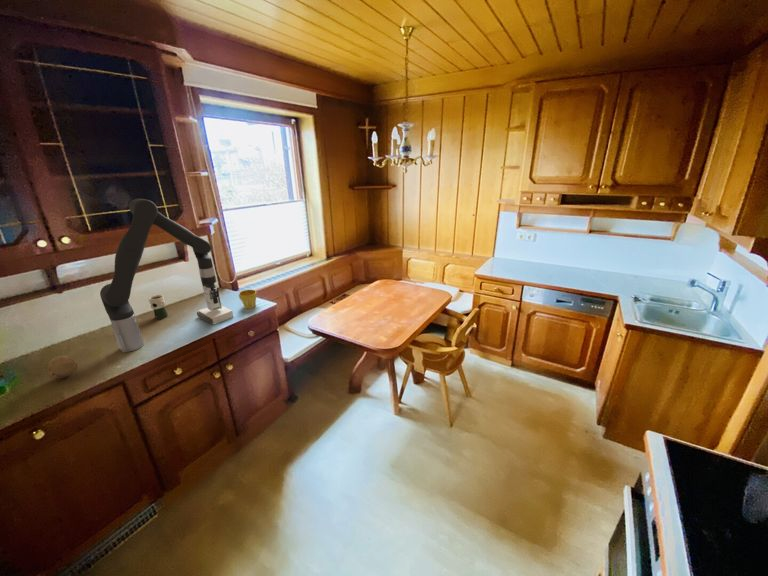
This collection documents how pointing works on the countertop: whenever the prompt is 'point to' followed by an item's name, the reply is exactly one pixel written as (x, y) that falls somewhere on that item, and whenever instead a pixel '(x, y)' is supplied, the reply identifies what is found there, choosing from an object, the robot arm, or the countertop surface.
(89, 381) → the countertop surface
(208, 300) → the syrup box
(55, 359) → the natural sponge
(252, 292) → the plant pot
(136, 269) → the robot arm
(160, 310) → the character mug
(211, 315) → the dock
